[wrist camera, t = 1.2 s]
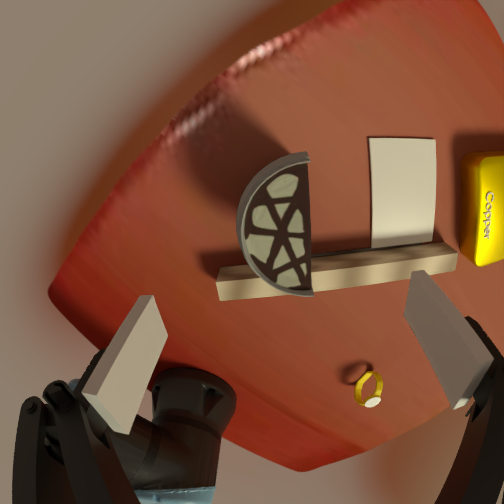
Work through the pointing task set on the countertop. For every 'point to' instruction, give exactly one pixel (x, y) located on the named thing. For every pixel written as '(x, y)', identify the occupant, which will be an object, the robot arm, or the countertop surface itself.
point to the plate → (402, 190)
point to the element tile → (482, 207)
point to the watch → (375, 397)
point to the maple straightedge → (345, 269)
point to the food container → (278, 225)
